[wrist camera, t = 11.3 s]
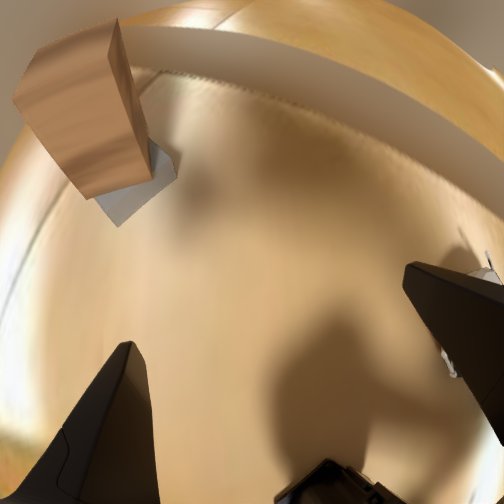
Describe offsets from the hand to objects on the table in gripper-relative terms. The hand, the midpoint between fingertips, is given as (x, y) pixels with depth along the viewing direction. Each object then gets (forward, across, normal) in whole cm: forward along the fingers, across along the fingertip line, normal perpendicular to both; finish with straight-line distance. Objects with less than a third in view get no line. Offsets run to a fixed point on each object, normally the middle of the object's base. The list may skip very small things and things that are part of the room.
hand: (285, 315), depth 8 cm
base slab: (+21, +8, -2) cm, 22 cm away
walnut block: (+19, +8, -4) cm, 21 cm away
